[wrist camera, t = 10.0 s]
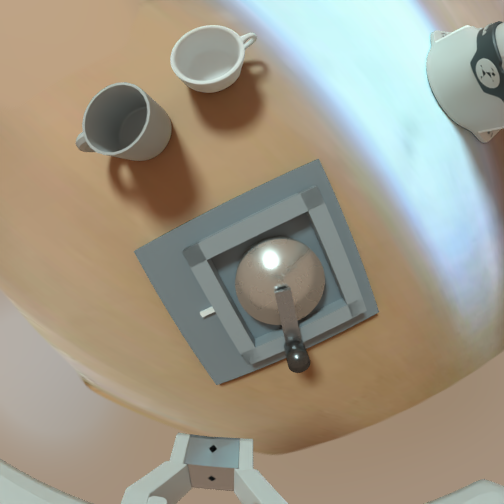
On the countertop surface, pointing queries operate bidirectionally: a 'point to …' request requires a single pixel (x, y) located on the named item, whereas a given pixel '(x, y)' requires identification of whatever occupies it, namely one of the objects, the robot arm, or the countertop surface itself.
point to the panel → (226, 262)
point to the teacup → (210, 57)
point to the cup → (124, 124)
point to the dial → (281, 289)
